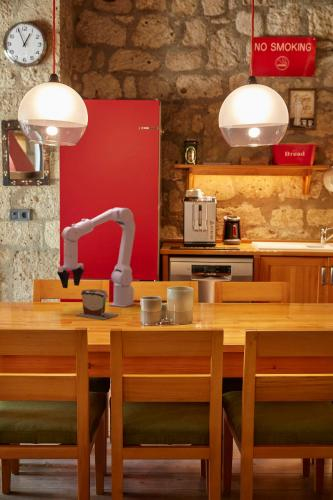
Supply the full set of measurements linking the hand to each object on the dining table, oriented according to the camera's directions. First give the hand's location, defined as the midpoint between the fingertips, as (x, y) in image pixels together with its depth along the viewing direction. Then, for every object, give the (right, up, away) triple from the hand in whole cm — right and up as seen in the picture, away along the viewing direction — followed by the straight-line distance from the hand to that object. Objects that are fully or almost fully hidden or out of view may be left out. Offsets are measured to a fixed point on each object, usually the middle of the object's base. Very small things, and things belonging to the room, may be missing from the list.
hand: (70, 286), depth 237 cm
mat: (+12, -11, -8) cm, 19 cm away
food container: (+12, -11, -8) cm, 18 cm away
